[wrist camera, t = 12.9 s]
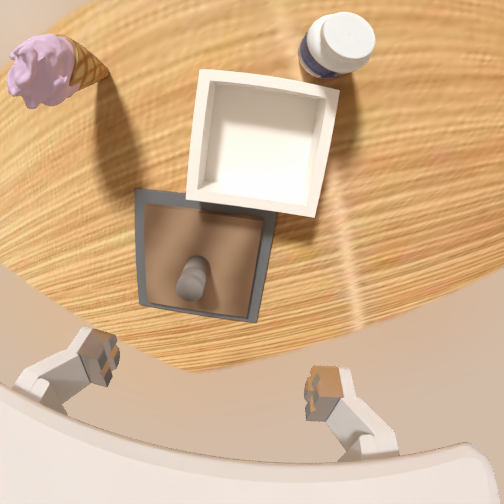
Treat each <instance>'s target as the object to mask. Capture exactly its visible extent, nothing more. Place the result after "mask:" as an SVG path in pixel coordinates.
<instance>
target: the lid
mask: <svg viewBox="0 0 504 504" xmlns="http://www.w3.org/2000/svg"><path fill="white" fill-rule="evenodd" d="M262 224H263V218H260V217H253V216H246V215H239V214H231V213H224V212H217V211H209V210H201V209H193V208H185V207H177V206H169V205H160V204H151V203H147V204H146V205H145V206H144V241H145V273H146V292H147V302H150V303H156V304H162V305H167V306H173V307H179V308H185V309H191V310H198V311H204V312H211V313H218V314H225V315H232V316H240V317H247V312H248V306H249V301H250V295H251V289H252V283H253V277H254V271H255V266H256V260H257V254H258V248H259V242H260V236H261V230H262Z"/></svg>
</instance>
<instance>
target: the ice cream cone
mask: <svg viewBox="0 0 504 504" xmlns="http://www.w3.org/2000/svg"><path fill="white" fill-rule="evenodd" d="M10 58H11V59H12V60H15V63H14V65H13V66H12V68H11V69H10V71H9V73H8V76H7V86H8V92H9V93H10V94H11V95H12V96H13V97H15V96H19V95H20V96H22V97H23V99H24V101H25V104H26V106H27V108H29V109H35V108H37V107H38V105H39V104H40V103H43V104H45V105H47V106H55V105H58V104H60V103H62V102H63V101H64V100H65V99H66V98H69V97H71V96H72V95H73V94H74V93H75V92H76V91H78V90H81V89H83V88H85V87H88V86H90V85H92V84H94V83H96V82H98V81H100V80H103V79H105V78H106V77H107V76H108V74H109V70H108V68H107V67H106V66H105V65H104V64H103V63H102V62H101V61H100V60H99V59H98V58H96V57H95V56H94V55H93V54H92V53H91V52H90V51H88V50H87V49H86V48H84V47H83V46H82V45H80V44H79V43H77V42H75V41H74V40H72V39H71V38H69V37H67V36H65V35H54V34H44V35H39V36H34V37H32V38H30V39H28V40H26V41H24V42H23V43H22V44H21V45H20V46H18V47H16V48H15V49H14V50H13V51H12V52H11V54H10Z"/></svg>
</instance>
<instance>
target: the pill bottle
mask: <svg viewBox="0 0 504 504" xmlns="http://www.w3.org/2000/svg"><path fill="white" fill-rule="evenodd" d="M374 46H375V35H374V32H373V29H372V28H371V26H370V25H369V23H368V22H367V21H366V20H364V19H363V18H362V17H360V16H358V15H356V14H353V13H350V12H339V13H336V14H330V15H326V16H323V17H321V18H319V19H318V20H316V21H315V22H314V23H313V24H312V25H311V27H310V28H309V30H308V32H307V33H306V35H305V36H304V38H303V40H302V41H301V43H300V45H299V48H298V58H299V61H300V63H301V65H302V67H303V68H304V69H305V70H306V71H307V72H308V73H309V74H311V75H312V76H314V77H317V78H320V79H334V78H338V77H340V76H343V75H346V74H348V73H351V72H354V71H356V70H358V69H360V68H361V67H363V66H364V65H365V64H366V63H367V61H368V60H369V58H370V55H371V52H372V50H373V49H374Z"/></svg>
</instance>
